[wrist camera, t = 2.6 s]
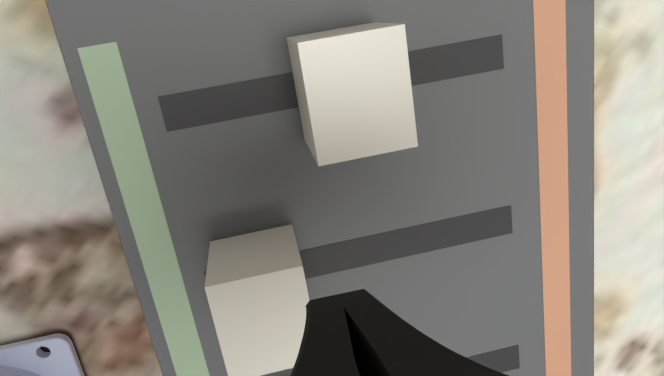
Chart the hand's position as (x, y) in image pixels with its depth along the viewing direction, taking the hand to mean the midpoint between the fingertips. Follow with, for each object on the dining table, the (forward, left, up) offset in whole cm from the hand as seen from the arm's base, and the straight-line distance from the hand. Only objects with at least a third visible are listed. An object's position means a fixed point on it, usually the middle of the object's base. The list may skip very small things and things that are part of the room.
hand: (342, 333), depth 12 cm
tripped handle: (+2, +4, -8) cm, 9 cm away
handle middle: (-2, -2, -8) cm, 9 cm away
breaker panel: (+3, -2, -10) cm, 11 cm away
